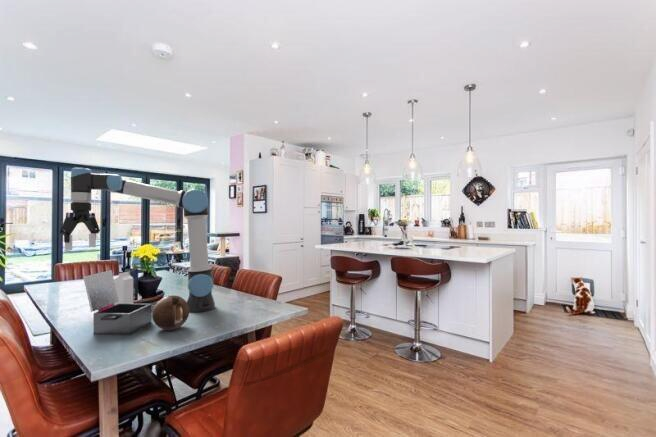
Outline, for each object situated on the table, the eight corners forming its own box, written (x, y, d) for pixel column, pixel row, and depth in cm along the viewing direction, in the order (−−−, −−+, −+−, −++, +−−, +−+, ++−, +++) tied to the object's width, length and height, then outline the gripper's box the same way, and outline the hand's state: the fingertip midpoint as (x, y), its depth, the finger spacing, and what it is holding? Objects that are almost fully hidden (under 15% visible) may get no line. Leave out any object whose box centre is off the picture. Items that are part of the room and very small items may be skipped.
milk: (114, 316, 166) (113, 273, 166) (124, 313, 172) (123, 271, 171) (123, 317, 164) (123, 273, 164) (133, 313, 170) (133, 271, 170)
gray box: (154, 321, 158) (154, 302, 158) (126, 336, 138) (125, 315, 138) (122, 320, 159) (122, 302, 159) (89, 336, 138) (89, 315, 138)
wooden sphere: (152, 326, 150) (152, 294, 150) (187, 321, 158) (187, 290, 158) (152, 337, 137) (152, 301, 137) (191, 331, 145) (191, 297, 145)
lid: (111, 269, 157) (106, 271, 157) (84, 276, 141) (78, 277, 141) (118, 301, 157) (113, 302, 157) (92, 311, 140) (86, 312, 141)
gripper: (93, 203, 162) (93, 246, 162) (48, 200, 137) (48, 251, 137) (108, 203, 161) (108, 246, 161) (66, 200, 136) (65, 251, 136)
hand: (81, 248), depth 149 cm, fingers open, 13 cm apart
